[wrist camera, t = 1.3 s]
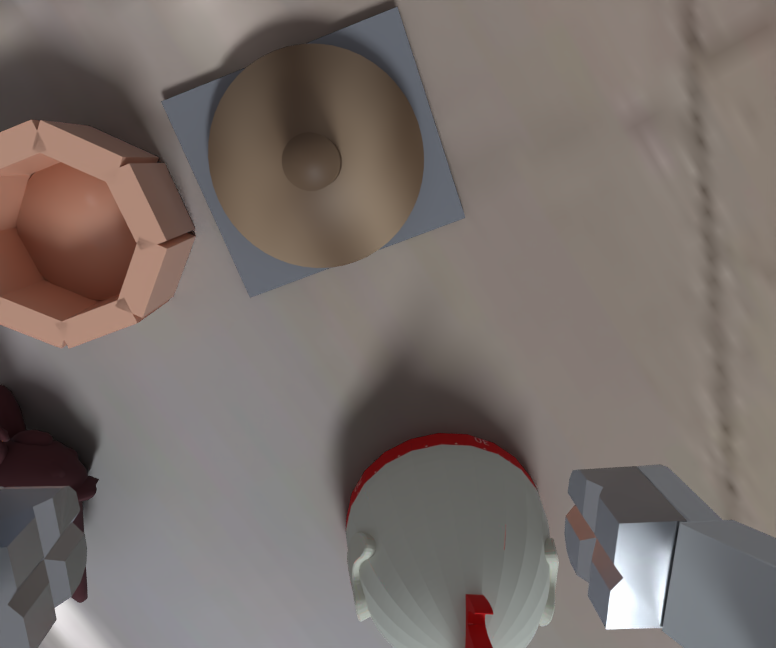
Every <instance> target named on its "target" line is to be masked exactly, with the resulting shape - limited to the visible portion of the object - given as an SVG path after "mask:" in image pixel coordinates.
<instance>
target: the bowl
mask: <svg viewBox="0 0 776 648" xmlns="http://www.w3.org/2000/svg"><path fill="white" fill-rule="evenodd" d="M158 159H159V157H157V156H155V155H153V154H151V153H148V152H146V151H144V150H142V149H140V148H137V147H135V146H133V145H131V144H129V143H126V142H124V141H122V140H120V139H118V138H115V137H113V136H111V135H109V134H106V133H104V132H102V131H100V130H98V129H95V128H93V127H91V126H87V125H78V124H70V123H62V122H53V121H45V120H40V121H39V120H29V121H27V122H24V123H22V124H19V125H17V126H14V127H12V128H9V129H7V130H4V131H2V132H0V325H3V326H5V327H8V328H10V329H13V330H15V331H18V332H20V333H23V334H26V335H28V336H31V337H33V338H36V339H38V340H41V341H43V342H46V343H49V344H51V345H54V346H56V347H59V348H63V347H64V346H66V345H67V346H68V348H72V347H75V346H77V345H80V344H83V343H85V342H88V341H91V340H93V339H96V338H99V337H101V336H104V335H107V334H109V333H112V332H115V331H117V330H120V329H123V328H126V327H128V326H131V325H134V324H136V323H138V322H140V321H141V320H142V319H144V318H145V317H147V316H148V315H150V314H151V313H152V312H154V311H155V310H157V309H158V308H159V307H161V306H162V305H164V304H165V303H167V302H168V301H169V299H170V298H172V297H173V296H174V294H175V291H176V289H177V286H178V283H179V280H180V278H181V275H182V272H183V270H184V267H185V264H186V261H187V259H188V256H189V253H190V251H191V248H192V245H193V243H194V240H195V237H196V236H194V235H192V234H190V233H187V232H190V231H192V230H195V227H194V225H193V223H192V221H191V219H190V216H189V214H188V212H187V210H186V208H185V206H184V204H183V201H182V199H181V197H180V195H179V193H178V191H177V189H176V186H175V184H174V182H173V180H172V178H171V176H170V174H169V171H168V169H167V167H166V165H165V163H157V162H158Z"/></svg>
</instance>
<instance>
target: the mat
mask: <svg viewBox="0 0 776 648" xmlns="http://www.w3.org/2000/svg"><path fill="white" fill-rule="evenodd" d="M306 44H325V45H333V46H337V47H340V48H344V49H347V50H350V51H352V52H354V53H357V54H359V55H361V56H363V57H365V58H366V59H368V60H370V61H371V62H373V63H374V64H376V65H377V66H378V67H379V68H381V69H382V70H383V71H384V72H386V73H387V74H388V75H389V76H390V77H391V78H392V80H393V81H394V82H395V83H396V84H397V85H398V86H399V88H400V89H401V91H402V92H403V93H404V95H405V96H406V98H407V100H408V101H409V103H410V105H411V107H412V109H413V111H414V113H415V116H416V118H417V121H418V124H419V128H420V131H421V135H422V141H423V149H424V171H423V179H422V184H421V188H420V192H419V195H418V198H417V201H416V203H415V206H414V208H413V210H412V212H411V214H410V215H409V217H408V219H407V221H406V222H405V223H404V225H403V226H402V227H401V229H400V230H399V231H398V232H397V234H396V235H395V236H394V237H393V238H392V239H391V240H390V241H389V242H388V243H386V244H385V245H384V246H383V247H381V248H380V249H382V248H385V247H388V246H390V245H393V244H396V243H399V242H401V241H404V240H407V239H409V238H412V237H415V236H417V235H420V234H423V233H425V232H428V231H431V230H434V229H436V228H439V227H442V226H444V225H447V224H450V223H452V222H455V221H458V220H460V219H463V218H465V215H464V212H463V209H462V206H461V203H460V200H459V197H458V194H457V190H456V187H455V184H454V181H453V178H452V175H451V172H450V169H449V166H448V163H447V159H446V156H445V153H444V150H443V147H442V144H441V141H440V138H439V135H438V132H437V128H436V125H435V122H434V119H433V116H432V113H431V110H430V107H429V104H428V101H427V97H426V94H425V91H424V88H423V85H422V82H421V79H420V76H419V73H418V69H417V66H416V63H415V60H414V57H413V54H412V51H411V48H410V45H409V42H408V38H407V35H406V32H405V29H404V26H403V23H402V20H401V17H400V14H399V11H398V7H395V8H393V9H390V10H388V11H385V12H383V13H380V14H378V15H375V16H373V17H370V18H368V19H365V20H363V21H360V22H358V23H355V24H353V25H350V26H348V27H345V28H343V29H341V30H338V31H336V32H333V33H331V34H328V35H326V36H323V37H321V38H318V39H316V40H313V41H311V42H308V43H306ZM244 69H245V68H244ZM244 69H241V70H239V71H236V72H234V73H231V74H229V75H226V76H224V77H221V78H219V79H216V80H214V81H211V82H209V83H206V84H204V85H201V86H199V87H196V88H194V89H191V90H189V91H186V92H184V93H181V94H179V95H176V96H174V97H171V98H169V99H166V100H164V101H161V102H162V104H163V107H164V109H165V111H166V113H167V115H168V118H169V120H170V122H171V124H172V126H173V129H174V131H175V133H176V135H177V137H178V140H179V142H180V144H181V146H182V149H183V151H184V153H185V155H186V157H187V160H188V162H189V164H190V166H191V168H192V171H193V173H194V175H195V177H196V179H197V182H198V184H199V186H200V188H201V190H202V193H203V195H204V197H205V199H206V202H207V204H208V206H209V208H210V210H211V213H212V215H213V217H214V219H215V221H216V224H217V226H218V228H219V230H220V232H221V235H222V237H223V239H224V241H225V243H226V246H227V248H228V250H229V252H230V254H231V257H232V259H233V261H234V263H235V266H236V268H237V270H238V272H239V274H240V277H241V279H242V281H243V283H244V285H245V288H246V290H247V292H248V294H249V296H250V297H253V296H256V295H259V294H261V293H264V292H267V291H269V290H272V289H275V288H277V287H280V286H283V285H285V284H288V283H291V282H294V281H296V280H299V279H302V278H304V277H307V276H310V275H312V274H315V273H318V272H320V271H323V270H326V269H329V268H311V267H302V266H298V265H294V264H289V263H287V262H284V261H281V260H279V259H276V258H274V257H272V256H270V255H268V254H267V253H265V252H263V251H262V250H260V249H259V248H257V247H256V246H254V245H253V244H252V243H251V242H250V241H248V240H247V239H246V238H245V237H244V236H243V235H242V234H241V233H240V232H239V231H238V230H237V228H236V227H235V226H234V225H233V224H232V222H231V221H230V219H229V218H228V216H227V215H226V214H225V212H224V210H223V208H222V206H221V204H220V202H219V200H218V198H217V195H216V193H215V190H214V187H213V184H212V179H211V175H210V170H209V161H208V141H209V134H210V128H211V124H212V121H213V117H214V114H215V111H216V109H217V107H218V104H219V102H220V100H221V98H222V96H223V95H224V93H225V92H226V90H227V88H228V87H229V85H230V84H231V83H232V82H233V81H234V79H235V78H236V77H237V76H238V75H239V74H240V73H241V72H242V71H243V70H244ZM380 249H379V250H380ZM330 268H331V267H330Z"/></svg>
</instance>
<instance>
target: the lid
mask: <svg viewBox="0 0 776 648" xmlns="http://www.w3.org/2000/svg"><path fill="white" fill-rule="evenodd" d="M208 161H209V170H210V175H211V179H212V184H213V187H214V190H215V193H216V195H217V198H218V200H219V202H220V204H221V206H222V208H223V210H224V212H225V214H226V215H227V216H228V218H229V219H230V221H231V222H232V224H233V225H234V226H235V227H236V228H237V230H238V231H239V232H240V233H241V234H242V235H243V236H244V237H245V238H246V239H247V240H248V241H250V242H251V243H252V244H253V245H254V246H256V247H257V248H259V249H260V250H262V251H263V252H265V253H267V254H268V255H270V256H272V257H274V258H276V259H279V260H281V261H284V262H287V263H289V264H294V265H298V266H302V267H311V268H330V267H337V266H343V265H346V264H350V263H353V262H356V261H358V260H361V259H363V258H365V257H367V256H369V255H371V254H372V253H374V252H376V251H377V250H379V249H380V248H381V247H383V246H384V245H385V244H386V243H388V242H389V241H390V240H391V239H392V238H393V237H394V236H395V235H396V234H397V232H398V231H399V230H400V229H401V227H402V226H403V225H404V223H405V222H406V221H407V219H408V217H409V215H410V214H411V212H412V210H413V208H414V206H415V203H416V201H417V198H418V195H419V192H420V188H421V184H422V179H423V171H424V149H423V141H422V135H421V131H420V128H419V124H418V121H417V118H416V116H415V113H414V111H413V109H412V107H411V105H410V103H409V101H408V100H407V98H406V96H405V95H404V93H403V92H402V91H401V89H400V88H399V86H398V85H397V84H396V83H395V82H394V81H393V80H392V78H391V77H390V76H389V75H388V74H387V73H386V72H384V71H383V70H382V69H381V68H379V67H378V66H377V65H376V64H374V63H373V62H371V61H370V60H368V59H366V58H365V57H363V56H361V55H359V54H357V53H354V52H352V51H350V50H347V49H344V48H340V47H337V46H333V45H325V44H299V45H293V46H287V47H284V48H281V49H278V50H275V51H273V52H270V53H268V54H266V55H264V56H262V57H260V58H259V59H257V60H256V61H254V62H253V63H252V64H250V65H249V66H248V67H246V68H245V69H244V70H243V71H242V72H241V73H240V74H239V75H238V76H237V77H236V78H235V79H234V81H233V82H232V83H231V84H230V85H229V87H228V88H227V90H226V92H225V93H224V95H223V96H222V98H221V100H220V102H219V104H218V107H217V109H216V111H215V114H214V117H213V121H212V124H211V128H210V134H209V141H208Z"/></svg>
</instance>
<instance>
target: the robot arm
mask: <svg viewBox="0 0 776 648" xmlns="http://www.w3.org/2000/svg"><path fill="white" fill-rule="evenodd" d="M568 494H569V495H570V497H571V499H572V500H573V502H574V503H575V506H574V507H573V508H572V509H571V510H570V512H569V513H568V514H567V515H566V518H565V541H566V549H567V553H568V556H569V559H570V563H571V565H572V567H573V569H574V571H575V573H576V575H578V576H579V577H581V578H582V579H584V580H585V581H587V582H588V583H589V588H588V597H589V599H590V601H591V602H592V604H593V606H594V608H595V610H596V612H597V613H598V615H599V617H600V619H601V621H602V622H603V624H604V626H605V628H606V629H628V628H662V631H663V632H665V633H666V634H667V635H668V636H670V637H671V638H672V639H673V640H675V641H676V642H677V643H679V644H680V645H681V646H682V647H684V648H776V538H774V537H772V536H770V535H767V534H765V533H763V532H760V531H758V530H755V529H753V528H751V527H748V526H746V525H744V524H741V523H739V522H737V521H734V520H722V519H721V518H720V517H719V516H718V515H717V514H716V513H715V512H714V511H713V510H712V509H711V508H710V507H709V506H708V505H707V504H706V503H705V502H704V501H703V500H702V499H700V498H699V497H698V496H697V495H696V494H695V493H694V492H693V491H692V490H691V489H690V488H689V487H688V486H687V485H686V484H685V483H684V482H683V481H682V480H681V479H680V478H679V477H678V476H677V475H676V474H674V473H673V472H672V471H671V470H670V469H669V468H668V467H666V466H663V465H660V464H659V465H646V466H632V467H615V468H598V469H581V470H573V471H572V473H571V476H570V479H569V487H568ZM79 511H80V506H79V502H78V498H77V493H76V491H75V490H73V489H72V488H71V487H70V486H33V487H0V648H38V647H39V645H40V644H41V642H42V641H43V639H44V638H45V636H46V635H47V633H48V632H49V630H50V629H51V627H52V626H53V624H54V623H55V621H56V620H57V619H56V614H55V609H54V608H55V607H57V606H58V605H60V604H61V603H63V602H64V601H66V600H67V599H69V598H70V597H72V595H73V594H74V592H75V590H76V589H77V587H78V586H79V584H80V582H81V579H82V576H83V573H84V569H85V566H86V557H87V546H86V539H85V534H84V533H83V532H82V531H81V530H80V529H79V528H78V527H77V526H76V525H75V524H74V523H73V521H74V519H75V518H76V516H77V515H78V513H79Z"/></svg>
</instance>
